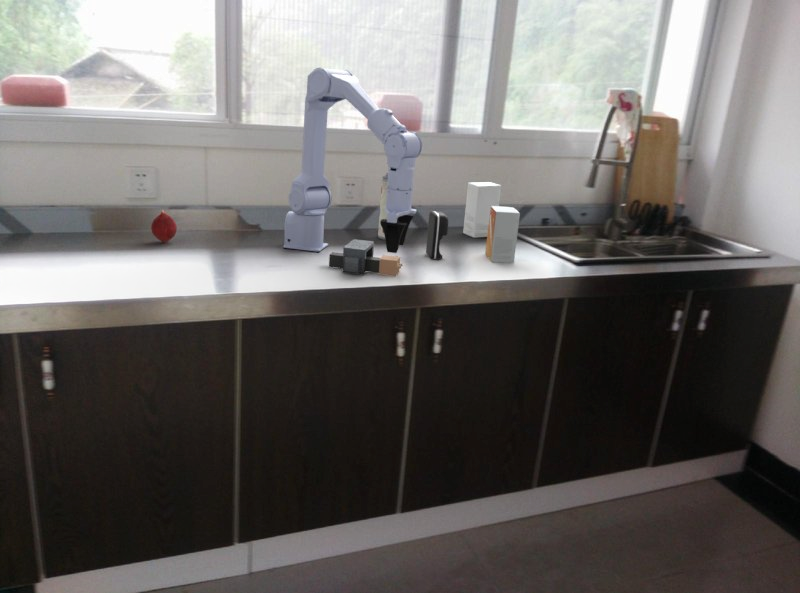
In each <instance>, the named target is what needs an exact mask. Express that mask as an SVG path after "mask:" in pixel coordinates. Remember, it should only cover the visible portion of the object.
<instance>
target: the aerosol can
mask: <svg viewBox="0 0 800 593" xmlns="http://www.w3.org/2000/svg"><path fill="white" fill-rule="evenodd" d="M387 182H388V172H386V174H385V175H382V179H381V186H380V187H381V188H380V202H379V204H380V206H379V215H378V216H379V218H378V232H377V234H378V237H377V238H378V239H380V240H383V241H386V240H385V235H384V231H383V228H382V226H381V224H380V221H381V220H382V219H386V220H387V213H386V212H385V207H386V196H387Z"/></svg>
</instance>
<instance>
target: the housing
mask: <svg viewBox="0 0 800 593" xmlns="http://www.w3.org/2000/svg"><path fill="white" fill-rule="evenodd" d="M374 248H375V241H373V240H365V239H364V240H363V239H356V238H355V239H354V238H353V239H352V240H350V241H349V242H348V243H347V244H346V245H345V246H344V247H343V248H342V249H343V250H342V251H343V252H342V253H343V268H341V269H342V270H341V271H342V273H343V274H353V275H360V276H364V275H365V274H366V271H365V267H366V256H369V257H374V251H375V250H374Z"/></svg>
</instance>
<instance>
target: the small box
mask: <svg viewBox="0 0 800 593" xmlns="http://www.w3.org/2000/svg"><path fill="white" fill-rule="evenodd" d="M520 216H521V213H520V212H519V210H517V209H516V208H515V207H511V206H502V205H499V206H491V208H490V217H489V226H488V234H487V237H486V243H485V252H484V253H485V255H486V256H487V258H488V259H489V261H490V262H493V263H495V262H496V263H509V264H510V263H514V262H515V258H516V257H515V256H516V248H517V240H518V232H519V224H520V218H521V217H520Z"/></svg>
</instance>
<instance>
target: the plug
mask: <svg viewBox="0 0 800 593" xmlns="http://www.w3.org/2000/svg"><path fill="white" fill-rule="evenodd" d="M403 266H404V264H403V263H401V256H395V255H390V254H389V255H388V254H383V255H382V256H381V257H376V256H373V257H369V256H366V267H365V273H366V272H369V273H377V274H378V275H382V276H383V275H384V276H390V277H391V276H393V277H397V276H398V274H399V273H400V269H402V267H403ZM328 268H335V269H342V268H343V252H335V251H332V252H331V253H329V256H328ZM396 275H397V276H396Z"/></svg>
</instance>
